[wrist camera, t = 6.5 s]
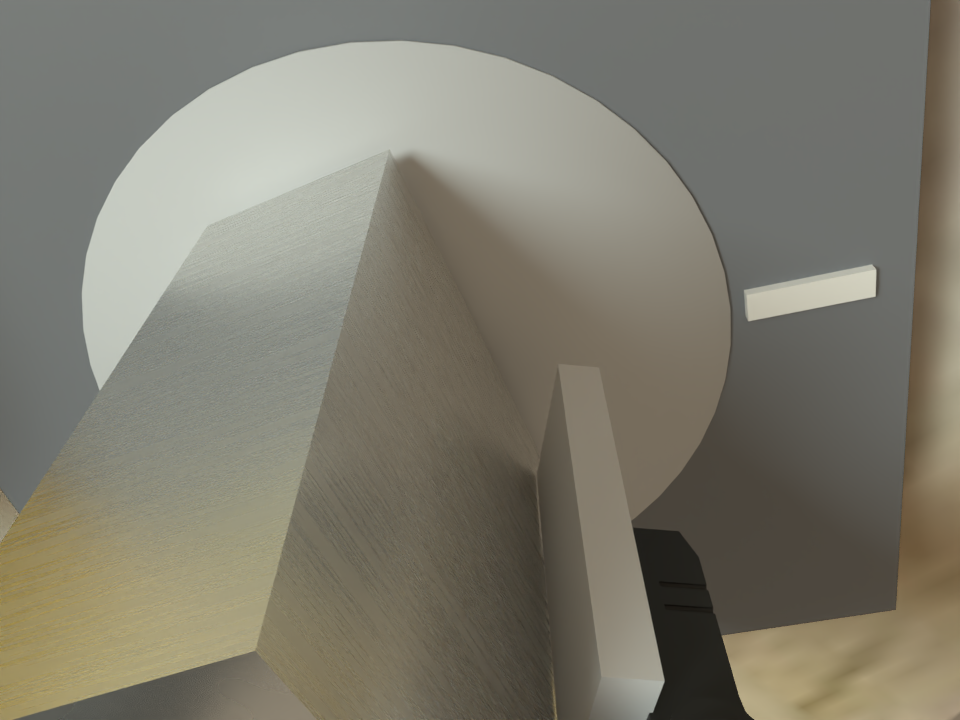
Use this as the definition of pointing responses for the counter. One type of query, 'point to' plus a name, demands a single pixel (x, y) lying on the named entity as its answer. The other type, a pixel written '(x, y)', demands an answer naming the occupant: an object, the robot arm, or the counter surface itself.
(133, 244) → the dial plate
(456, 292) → the dial handle
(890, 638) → the counter surface
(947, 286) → the counter surface
